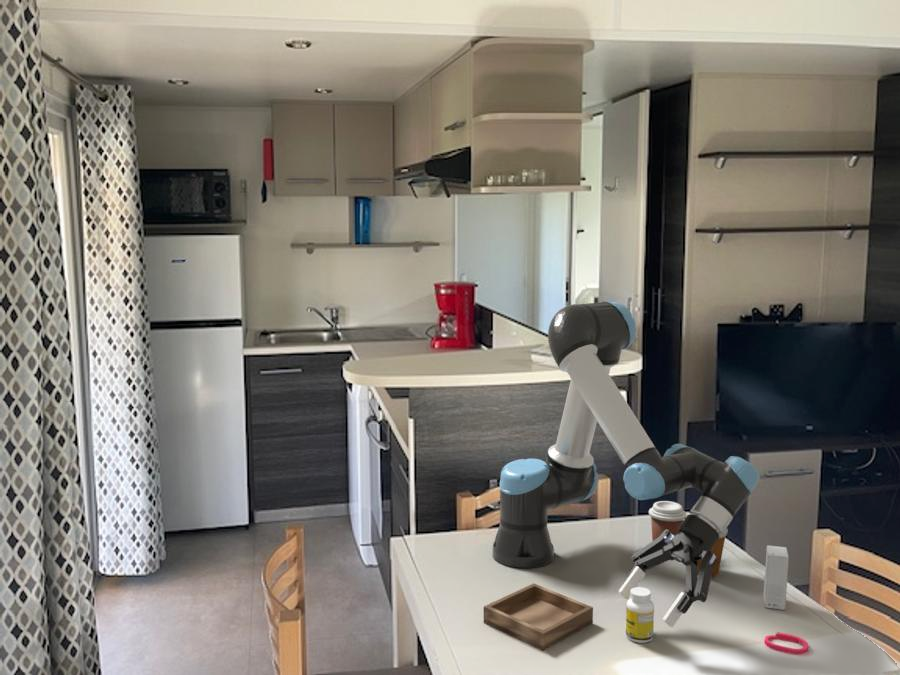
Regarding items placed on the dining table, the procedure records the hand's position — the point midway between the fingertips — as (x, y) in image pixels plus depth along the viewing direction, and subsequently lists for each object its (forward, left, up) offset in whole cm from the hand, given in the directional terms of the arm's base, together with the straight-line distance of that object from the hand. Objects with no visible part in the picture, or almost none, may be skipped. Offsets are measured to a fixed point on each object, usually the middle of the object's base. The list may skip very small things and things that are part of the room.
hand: (644, 609), depth 171 cm
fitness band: (+21, +18, -7) cm, 29 cm away
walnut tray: (-19, -10, -6) cm, 22 cm away
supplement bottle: (-1, 0, -6) cm, 6 cm away
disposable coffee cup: (-8, +38, -6) cm, 39 cm away
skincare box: (+11, +34, -6) cm, 36 cm away
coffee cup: (-21, +42, -6) cm, 47 cm away
